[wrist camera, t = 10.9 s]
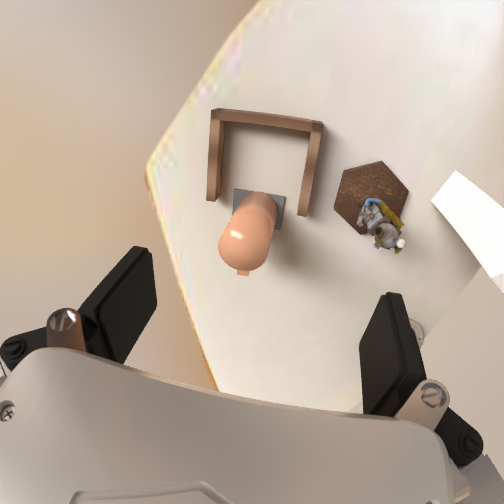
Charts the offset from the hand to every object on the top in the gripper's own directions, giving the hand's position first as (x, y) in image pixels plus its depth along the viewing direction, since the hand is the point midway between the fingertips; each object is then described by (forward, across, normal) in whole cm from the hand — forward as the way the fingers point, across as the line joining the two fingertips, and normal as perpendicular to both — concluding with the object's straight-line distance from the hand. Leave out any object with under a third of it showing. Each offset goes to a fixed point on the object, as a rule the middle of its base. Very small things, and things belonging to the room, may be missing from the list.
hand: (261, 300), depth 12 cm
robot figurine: (+31, -11, +5) cm, 33 cm away
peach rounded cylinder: (+30, +4, +11) cm, 32 cm away
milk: (+31, -24, +2) cm, 39 cm away
